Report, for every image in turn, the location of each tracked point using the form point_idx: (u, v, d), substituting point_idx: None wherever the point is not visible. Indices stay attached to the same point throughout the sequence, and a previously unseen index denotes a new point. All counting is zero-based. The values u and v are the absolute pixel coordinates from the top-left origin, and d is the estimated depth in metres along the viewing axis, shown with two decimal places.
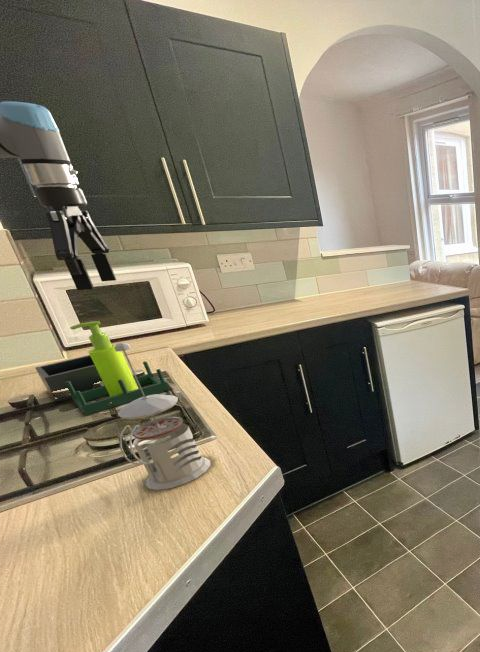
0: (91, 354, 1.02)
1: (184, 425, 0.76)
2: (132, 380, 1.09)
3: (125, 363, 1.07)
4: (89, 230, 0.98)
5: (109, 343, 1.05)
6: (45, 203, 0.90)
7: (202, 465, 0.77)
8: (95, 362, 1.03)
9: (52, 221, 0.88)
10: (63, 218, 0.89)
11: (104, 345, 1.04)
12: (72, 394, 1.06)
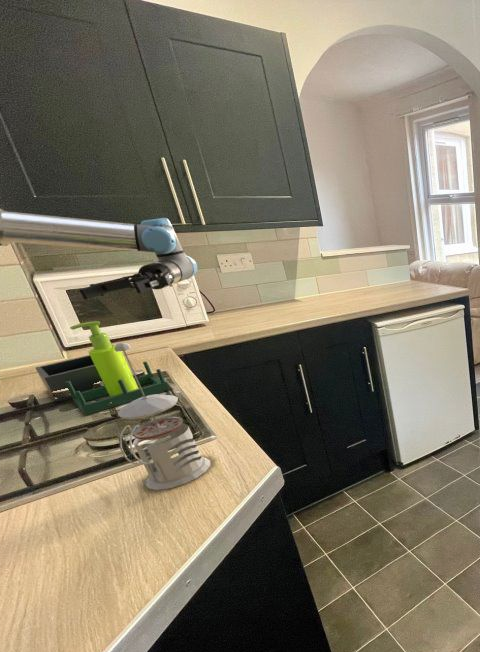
0: (91, 354, 1.02)
1: (184, 425, 0.76)
2: (132, 380, 1.09)
3: (125, 363, 1.07)
4: (132, 287, 1.23)
5: (109, 343, 1.05)
6: (161, 269, 1.27)
7: (202, 465, 0.77)
8: (95, 362, 1.03)
9: (168, 274, 1.25)
10: (171, 280, 1.26)
11: (104, 345, 1.04)
12: (72, 394, 1.06)
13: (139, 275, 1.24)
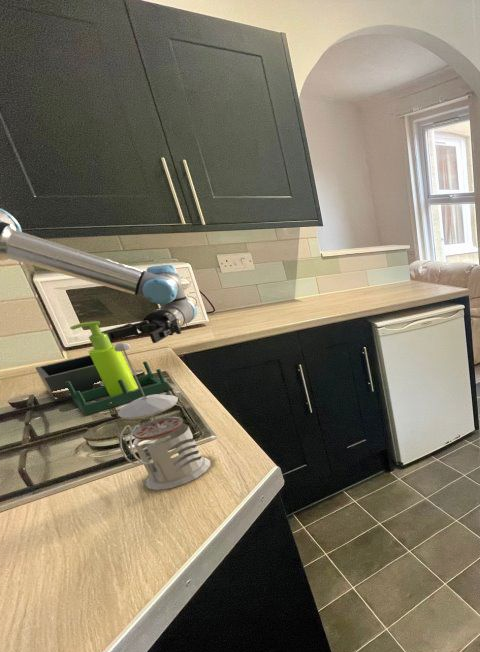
0: (91, 354, 1.02)
1: (184, 425, 0.76)
2: (132, 380, 1.09)
3: (125, 363, 1.07)
4: (138, 334, 1.23)
5: (109, 343, 1.05)
6: (167, 316, 1.28)
7: (202, 465, 0.77)
8: (95, 362, 1.03)
9: (177, 322, 1.26)
10: (178, 328, 1.28)
11: (104, 345, 1.04)
12: (72, 394, 1.06)
13: (146, 322, 1.25)
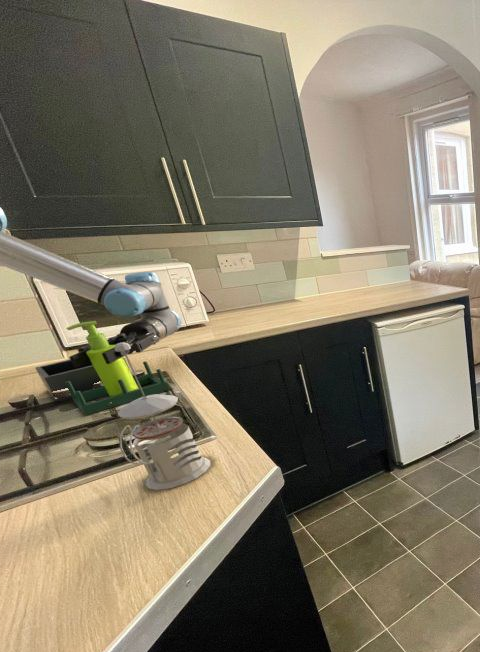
0: (89, 354, 1.02)
1: (184, 425, 0.76)
2: (131, 379, 1.09)
3: (123, 363, 1.07)
4: None
5: (106, 343, 1.04)
6: (147, 328, 1.18)
7: (202, 465, 0.77)
8: (93, 362, 1.03)
9: (151, 337, 1.15)
10: (154, 342, 1.16)
11: (101, 345, 1.03)
12: (72, 394, 1.06)
13: (124, 335, 1.14)
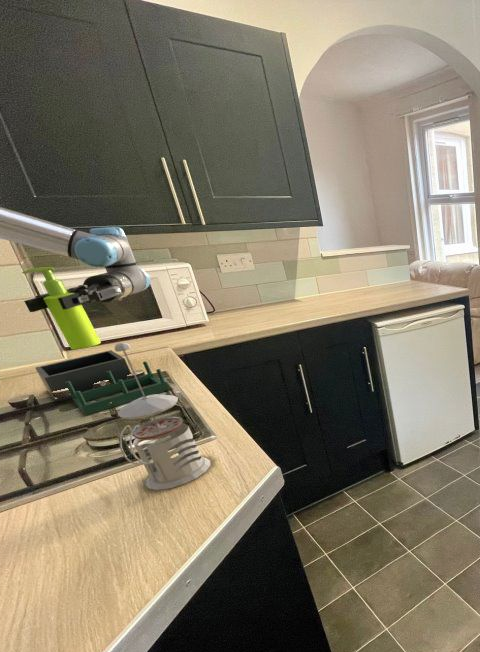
0: (45, 300, 1.01)
1: (184, 425, 0.76)
2: (91, 329, 1.08)
3: (82, 311, 1.06)
4: None
5: (64, 289, 1.03)
6: (110, 281, 1.17)
7: (202, 465, 0.77)
8: (50, 308, 1.02)
9: (113, 288, 1.13)
10: (117, 294, 1.15)
11: (58, 291, 1.02)
12: (72, 394, 1.06)
13: (86, 287, 1.13)
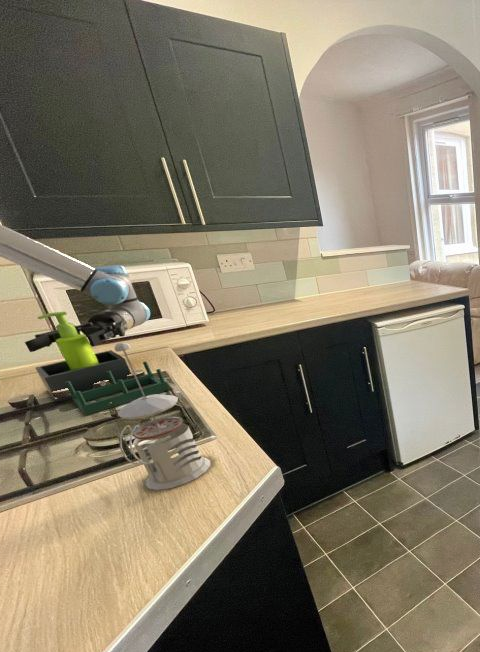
0: (58, 342, 1.10)
1: (184, 425, 0.76)
2: None
3: (91, 351, 1.15)
4: None
5: (75, 332, 1.12)
6: (113, 318, 1.25)
7: (202, 465, 0.77)
8: (62, 350, 1.11)
9: (122, 324, 1.23)
10: (124, 330, 1.24)
11: (70, 334, 1.11)
12: (72, 394, 1.06)
13: (90, 324, 1.21)
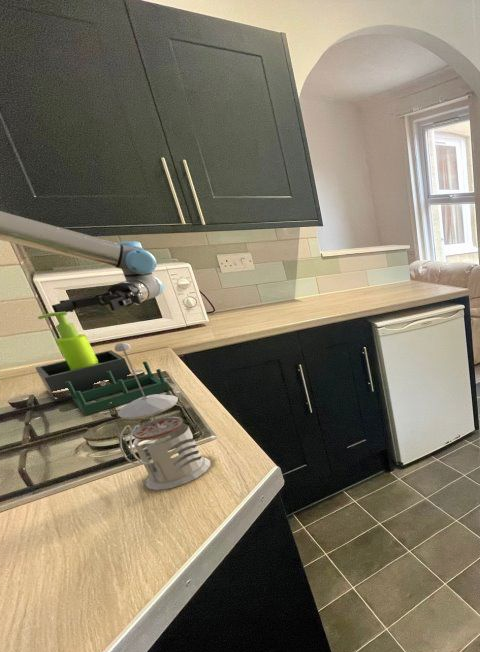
0: (58, 342, 1.10)
1: (184, 425, 0.76)
2: None
3: (91, 351, 1.15)
4: (101, 304, 1.30)
5: (75, 332, 1.12)
6: (130, 289, 1.35)
7: (202, 465, 0.77)
8: (62, 350, 1.11)
9: (139, 294, 1.33)
10: (140, 299, 1.34)
11: (70, 334, 1.11)
12: (72, 394, 1.06)
13: (109, 293, 1.31)
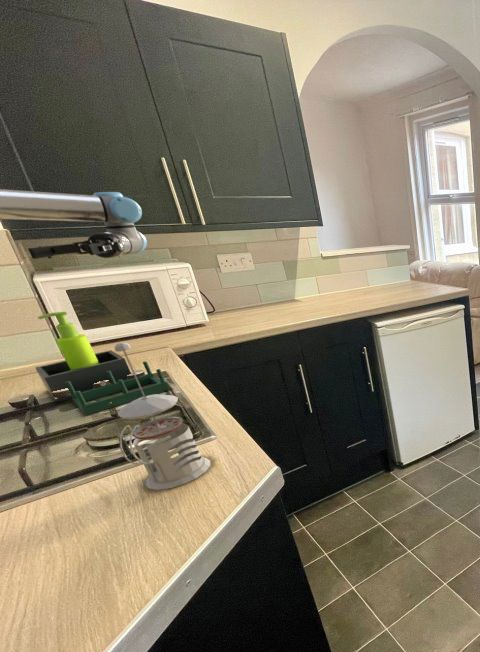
0: (58, 342, 1.10)
1: (184, 425, 0.76)
2: None
3: (91, 351, 1.15)
4: (81, 253, 1.27)
5: (75, 332, 1.12)
6: (112, 238, 1.32)
7: (202, 465, 0.77)
8: (62, 350, 1.11)
9: (120, 243, 1.30)
10: (122, 249, 1.31)
11: (70, 334, 1.11)
12: (72, 394, 1.06)
13: (89, 242, 1.28)
